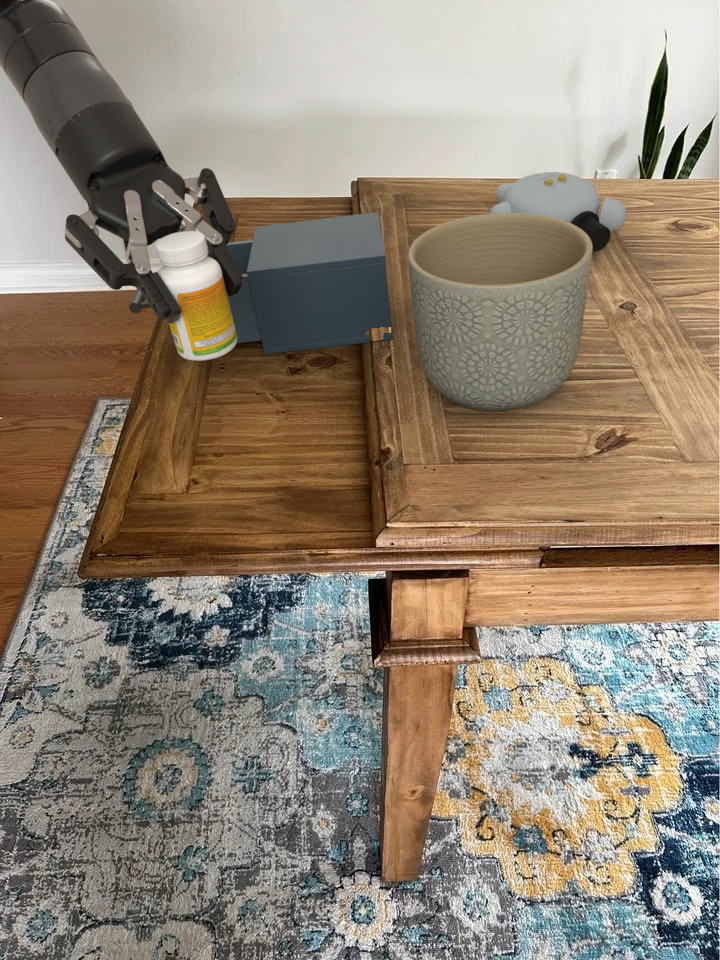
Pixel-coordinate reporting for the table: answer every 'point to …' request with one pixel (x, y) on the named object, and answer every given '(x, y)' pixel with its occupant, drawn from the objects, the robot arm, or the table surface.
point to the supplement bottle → (196, 297)
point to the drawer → (229, 297)
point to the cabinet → (319, 282)
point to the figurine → (563, 203)
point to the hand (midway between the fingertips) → (206, 303)
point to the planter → (499, 307)
